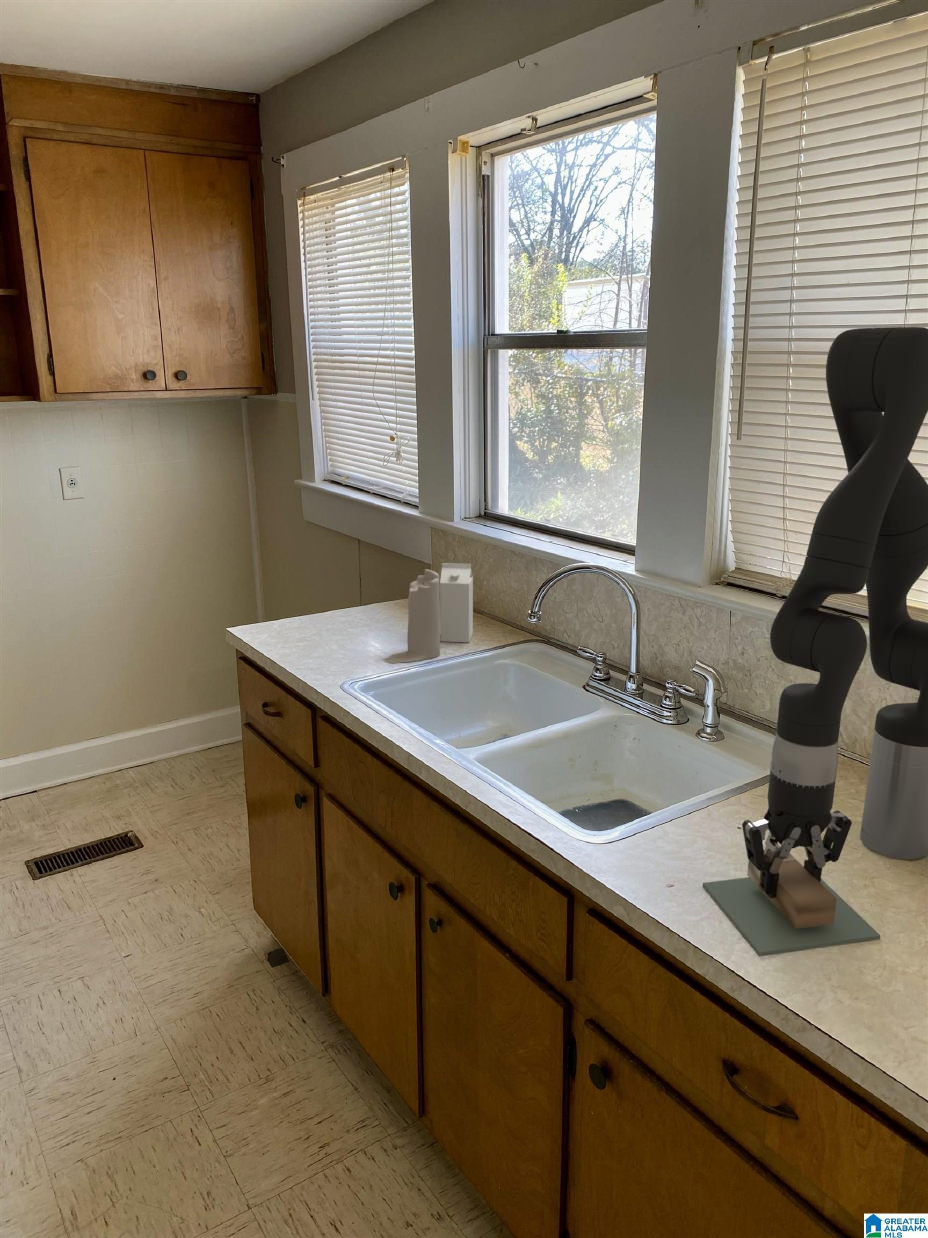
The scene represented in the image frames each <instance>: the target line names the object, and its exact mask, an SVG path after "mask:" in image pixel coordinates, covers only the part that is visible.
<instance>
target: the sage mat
mask: <svg viewBox="0 0 928 1238" xmlns="http://www.w3.org/2000/svg"><path fill="white" fill-rule="evenodd" d="M820 883H821V884H822V885H823V886H824V887H825V888H826V889H827V890H828V891H829V892H830V893H831V894H832V895H833V896H835V897H836V898H837V902H836V909H835V917H834V924H830V925H822V926H815V927H807V928H800V929H796V928H795V927H794V926H793V925H792V924H791V923H790V922H789V921H788V920H787V918H786V917H785V916H784V915H783V914H782V913H781V912H780V911H779V910H778V909H777V907H776V906H775V905H774V904H773V903H772V902H771V901H770V900H769V899H768V898H767V896H766V895H765V894H764V893H763V892H762V891H761V890H760V889H759V888H758V887H757V885H756V884H755V883H754V882H753V881H752V880H751V879H750V878H749V877H748V876H747V877H739V878H732V879H725V880H716V881H707V882H703V883H702V887H703V888H704V890H705V892H707V894H708V895H709V896H710V898H712V900H713V901H714V902H715V903H716V904H717V906H718V907H719V908H720V909H721V911H722V912H723V913H724V914H725V916H726V917H727V918H728V919H729V920H730V922H731V923H732V924H733V925H734V926H735V928H736V929H737V931H738V932H739V933H740V934H741V935H742V937H744V939H745V941H746V942H747V943H748V944H749V945H750V946H751V947H752V949H753V951H754V952H755V953H756V954H757V955H758V957H762V956H768V955H774V954H775V955H776V954H777V955H778V954H782V953H784V954H785V953H790V952H796V951H797V952H798V951H803V950H804V951H805V950H811V949H812V950H813V949H819V948H825V947H833V946H840V945H847V944H852V943H853V944H854V943H860V942H868V941H869V942H870V941H876V940H880V939H881V934H880V933H878V932H877V930H876V929H875V928H873V927H872V926H871V924H869V923H868V922H867V921H866V920H865V919H864V918H863V917H862V916H861V915H860V914H859V913H858V912H857V911H855V910H854V909H853V907H851V906H850V905H849V904H848V903H847V902H846V901H845V900H844V899H843V898H842V897H841V896H840V895H839V894H838V893H837V892H836V891H835V890H834V889H833V888H832V887H831V886H829V884H827V883H826V881H824V880H823V879H822V878H821V882H820Z"/></svg>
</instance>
